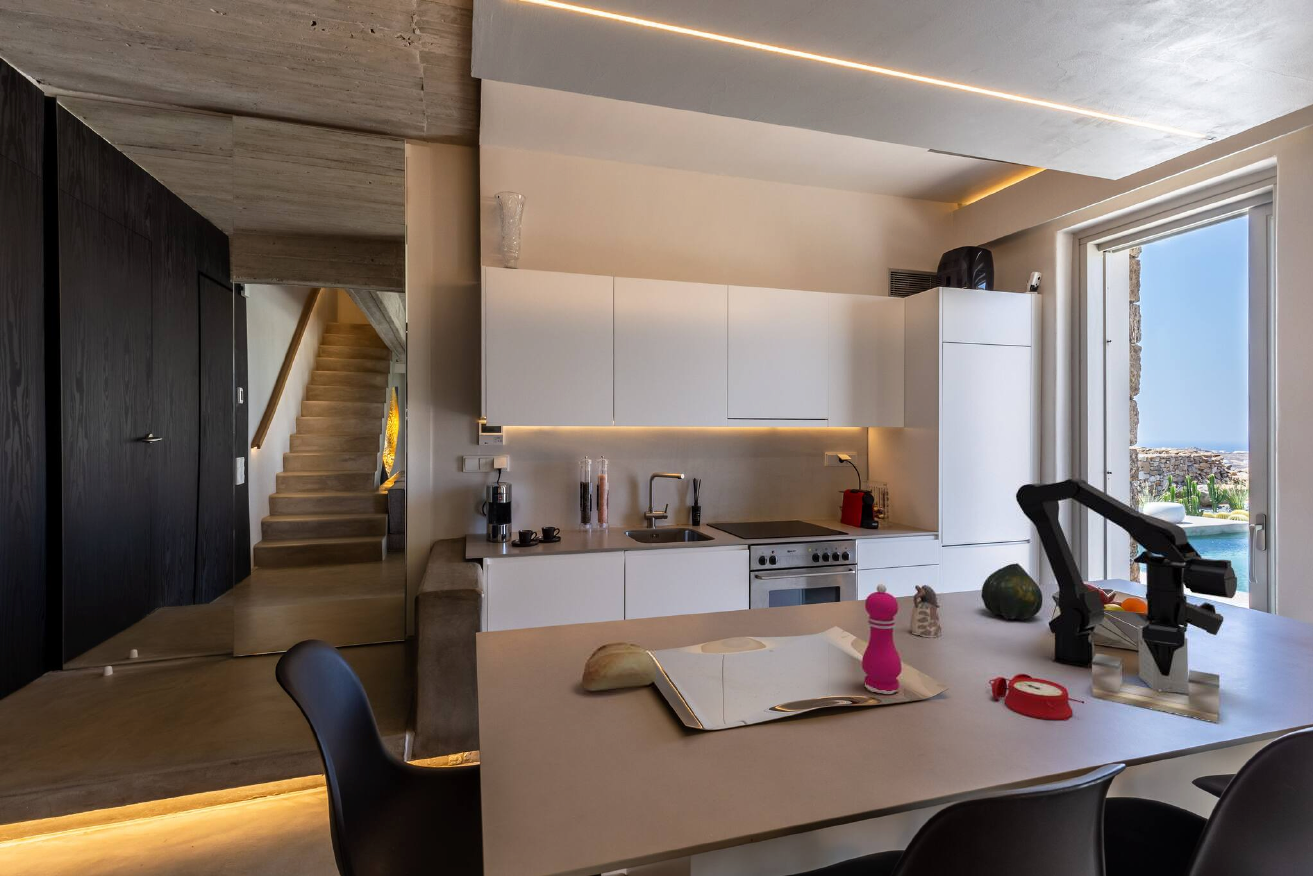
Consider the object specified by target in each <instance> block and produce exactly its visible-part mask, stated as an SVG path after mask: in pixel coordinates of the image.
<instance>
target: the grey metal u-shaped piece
mask: <svg viewBox="0 0 1313 876" xmlns="http://www.w3.org/2000/svg"><path fill="white" fill-rule="evenodd" d="M1091 667H1092V668H1091V672H1092V673H1091V677H1092V679H1091V681H1092V682H1091V688H1092V698H1097V699H1102V700H1107V701H1110V702H1111V701H1112V702H1116V703H1119V704H1124V703H1126V704H1125V705H1129V704H1132V705H1131V706H1134V705H1135V706H1134V707H1138V706H1142V707H1141V708H1143V707H1146V708H1145V709H1148V708H1152V709H1155V710H1154V711H1157V710H1162V711H1167V712H1171V713H1178V714H1180V715H1187V716H1190V717H1196V718H1198V719H1197V720H1199V719H1204V720H1210V721H1212V722H1211V723H1213V722H1217V723H1216V724H1218V720H1219V717H1218V716H1219V715H1220V674H1215V673H1210V672H1206V671H1205V672H1204V671H1203V672H1202V671H1197V670H1191V669H1188V695H1183V694H1180V693H1175V692H1166V691H1159V690H1154V689H1152V688H1150V687H1149V688H1148V687H1144V686H1143V687H1142V686H1139V685H1138V686H1137V685H1133V684H1128V683H1123V657H1119V656H1115V655H1114V656H1113V655H1108V654H1102V653H1095V654H1094V658H1093V660H1092V663H1091ZM1152 709H1151V710H1152ZM1162 711H1161V712H1162ZM1171 713H1170V714H1171ZM1180 715H1179V716H1180ZM1190 717H1189V718H1190ZM1204 720H1203V721H1204Z"/></svg>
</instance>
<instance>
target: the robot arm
mask: <svg viewBox="0 0 1313 876" xmlns="http://www.w3.org/2000/svg"><path fill="white" fill-rule="evenodd" d="M1015 499H1016V502H1017V504H1018V506H1019V508H1020V509H1021V511H1022V512H1023V514H1024V515H1025V516H1026V517H1027V519H1029V520H1030V521H1031V522H1032V523H1033V525H1034V526H1035V529H1036V531H1037V534H1038V536H1039V539H1040V542H1041V545H1042V547H1043V550H1044V552H1045V555H1046V557H1047V559H1048V562H1049V565H1050V567H1051V571H1052V572H1053V576H1054V577H1055V580H1056V583H1057V586H1058V599H1057V604H1058V607H1059V608H1058V609H1059V613H1060V614H1059V615H1057V616H1056V617H1054V618H1053V619H1052V620H1050V621H1049V622H1048V627H1049V628H1050V629H1049V630H1050V632H1051V633H1052V634H1054V656H1053V658H1052V661H1053V662H1057V663H1063V664H1068V665H1074V666H1079V667H1084V668H1089V667H1090V665H1092V660H1093V658H1094V657H1095V642H1094V640H1092V637H1091V635H1092V634H1091V633H1094V631H1095V630H1096V628H1097V626H1099V625H1100V624H1101V623H1103V621H1104V619H1105V615H1106V614H1105V610H1107V607H1106V606H1105V604H1104V603H1103V602H1102V599H1101V595H1100V592H1099V590H1098V589H1093V590H1091V589H1090V588H1089V587H1088V586H1087V585H1086V584H1085V583H1084V580H1083V578H1082V577H1081V574H1080V571H1079V568H1078V566H1077V564H1076V561H1075V559H1074V556H1073V554H1072V550H1071V549H1070V545H1069V543H1068V541H1067V539H1066V536H1065V534H1064V531H1063V529H1062V526H1061V522H1060V520H1059V519H1060V518H1059V515H1060V504H1059V502H1060V501H1061V502H1062V501H1066V500H1070V499H1073V500H1074V501H1076V502H1077V503H1079V504H1081V505H1083V506H1084V507H1085V508H1088V509H1089V510H1091V511H1093V512H1094V513H1096V514H1098V515H1099V516H1101V517H1103V518H1104V519H1106V520H1109V521H1110V522H1112V523H1114V524H1115V525H1117V526H1118V527H1121V528H1122V529H1123V530H1125V532H1126V533H1128V535H1129V536H1130V537H1131V538H1132V539H1133V541H1135V542H1136V543H1137V544H1138V545H1140V546H1141V547H1142V548H1143V549H1145V550H1144V551H1142V552H1141V553H1140V554H1139V555H1138V556H1137V557H1135V558H1134V559H1133V561H1132V562H1133V563H1136V564H1143V565H1145V566H1146V574H1145V575H1146V593H1145V599H1146V610H1147V611H1146V615H1145V620H1146V621H1147V622H1146V623H1144V624H1143V625H1142V626H1143V627H1142V638H1143V640H1144V642H1145V643H1146V645H1147V647H1148V649H1149V651H1150V653H1151V655H1152V657H1153V659H1154V661H1155V663H1156V665H1157V667H1158V669H1159V671H1160V673H1161V675H1163V676H1169V673H1170V668H1171V664H1172V659H1173V655H1174V652H1175V651H1176V650H1177V649H1179V648H1182V647H1183V646H1184V645H1185V638H1186V632H1187V631H1188V626H1189V625H1191V626H1194V627H1196V628H1198V629H1201V630H1203V631H1205V632H1206V633H1208V634H1210V635H1214V636H1217V635H1218V633H1219V631H1220V628H1221V626H1222V625H1223V622H1224V616H1223V615H1221V613H1217V612H1216V606H1215V605H1214V604H1211V603H1209V602H1207V601H1205V602H1203V603H1201V604H1199V605H1198V604H1193V603H1190V602H1187V595H1185V589H1189V592H1191V593H1193V594H1197V595H1207V596H1213V597H1219V598H1226V599H1233V598H1234V597H1235V595H1236V593H1237V588H1238V577H1237V576H1236V572H1235V569H1234V568H1233V567H1232V561H1231V560H1229V559H1210V558H1203V556H1201V554H1200V553H1199V552H1198V551H1197V550H1196V549H1195V548H1194V547H1193V545H1192V544H1191V543H1190V542H1189V541H1188V536H1187V533H1186V531H1185V530H1184V529H1183V527H1181V526H1180V525H1178V524H1175V523H1172V522H1170V521H1167V520H1165V519H1162V518H1160V517H1159V518H1158V517H1155V516H1152V515H1148V514H1145V513H1142V512H1140V511H1138V510H1136V509H1134V508H1133V507H1131V506H1128V505H1127V504H1125V503H1123V502H1122V501H1120V500H1119V499H1116V498H1115V497H1113V496H1111V495H1109V494H1107V493H1106V492H1104V491H1102V490H1101V489H1098V488H1096V487H1094V486H1093V485H1091V484H1090V483H1088V482H1087V481H1086V480H1084V479H1082V478H1067V479H1065V480H1062V481H1058V482H1053V483H1048V484H1047V483H1043V482H1042V483H1027V484H1023V485H1022V486H1020V487H1019V488H1018V490H1017V492H1016V493H1015Z"/></svg>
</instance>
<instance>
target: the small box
mask: <svg viewBox="0 0 1313 876" xmlns="http://www.w3.org/2000/svg"><path fill="white" fill-rule="evenodd" d="M1142 627H1143V625H1138V630H1137V632H1138V677H1139V678H1140V679H1141V680H1142V679H1143V680H1142V681H1143V682H1144V681H1145V682H1146V683H1147V686H1149V688H1150V689H1152V688H1153V689H1154V690H1161V691H1164V692H1169V693H1176V692H1177V693H1176V694H1187V695H1189V683H1188V677H1189V665H1188V664H1189V660H1188V658H1189V657H1188V655H1189V654H1188V638H1187V637H1185V645H1184V646H1183V647H1182V648H1179V649H1177V650H1176V651H1175V652H1174V655H1173V659H1172V664H1171V668H1170V673H1169V676H1163V675H1161V673H1160V671H1159V669H1158V667H1157V665H1156V663H1155V661H1154V659H1153V657H1152V655H1151V653H1150V651H1149V649H1148V647H1147V645H1146V643H1145V642H1144V640H1143V638H1142ZM1146 683H1145V684H1146Z"/></svg>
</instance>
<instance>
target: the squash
mask: <svg viewBox="0 0 1313 876" xmlns="http://www.w3.org/2000/svg"><path fill="white" fill-rule="evenodd" d="M1042 593H1043V592H1042V591H1041V587H1039V585H1038V584H1037V582H1036V581H1035V580H1034V579H1033V577H1032V576H1031V575H1030V574H1029V573H1027V571H1026V570H1025V569H1024V568H1023V567H1022V566H1021V565H1020V564H1019V563H1011V564H1008V565H1006V566H1003V567H1001V568H998V569H997V570H995V571H994V572H992V573H991V574H990V575H989V576H987V578H986V579H985V581H983V585H982V587H981V600H982V601H983V604H984V607H985V608H986V609H987V611H988V612H991V613H992V614H994V613H997V614H996V615H998V614H1001V615H1002V616H1003V618H1005V619H1007V620H1008V619H1013V620H1014V619H1016V620H1019V619H1020V621H1022V620H1026V619H1028V618H1031V617H1034V616H1036V615H1037V614H1038V613H1039V612H1040V611H1041V609H1042V606H1043V594H1042Z"/></svg>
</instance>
